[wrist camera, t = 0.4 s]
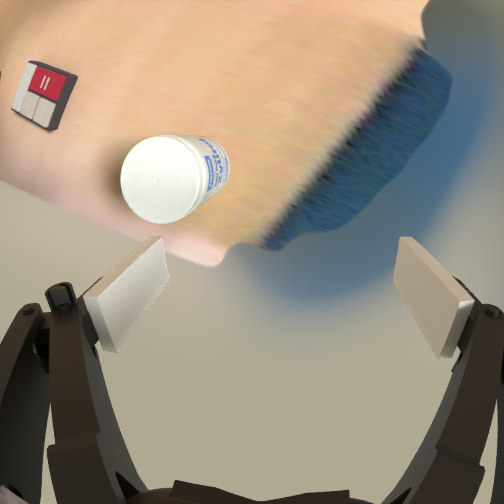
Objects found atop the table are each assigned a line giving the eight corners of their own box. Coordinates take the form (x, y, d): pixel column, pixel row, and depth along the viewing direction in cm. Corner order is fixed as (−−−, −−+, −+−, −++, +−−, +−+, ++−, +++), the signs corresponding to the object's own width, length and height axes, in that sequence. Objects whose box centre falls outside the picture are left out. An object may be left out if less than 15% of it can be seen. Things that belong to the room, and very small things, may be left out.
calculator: (45, 131, 36) (8, 109, 34) (60, 129, 40) (21, 108, 38) (67, 74, 32) (26, 59, 30) (81, 76, 36) (39, 61, 34)
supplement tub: (243, 172, 40) (222, 189, 26) (195, 210, 43) (156, 244, 29) (203, 122, 38) (161, 115, 24) (157, 163, 41) (104, 177, 27)
